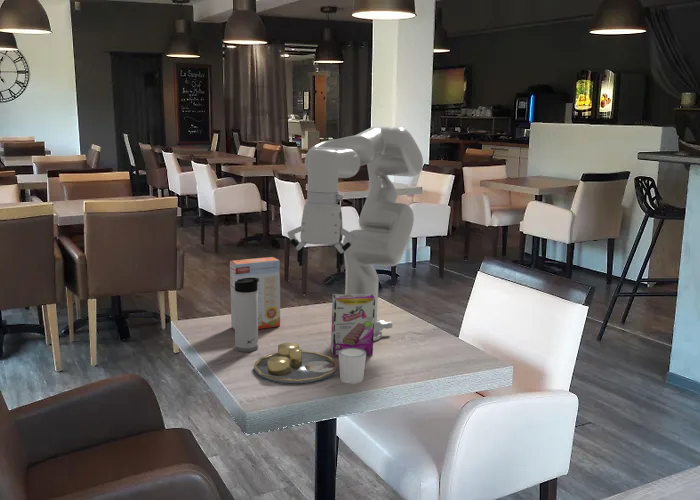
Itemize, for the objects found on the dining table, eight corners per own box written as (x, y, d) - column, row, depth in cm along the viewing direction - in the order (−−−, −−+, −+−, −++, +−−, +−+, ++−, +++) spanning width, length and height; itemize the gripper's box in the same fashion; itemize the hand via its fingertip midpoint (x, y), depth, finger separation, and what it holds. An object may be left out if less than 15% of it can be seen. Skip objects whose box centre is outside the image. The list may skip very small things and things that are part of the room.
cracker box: (273, 321, 217) (273, 256, 212) (280, 327, 211) (280, 259, 207) (230, 327, 210) (229, 259, 206) (236, 332, 205) (235, 263, 201)
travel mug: (254, 353, 188) (254, 281, 184) (231, 351, 189) (230, 279, 186) (262, 345, 194) (262, 276, 190) (239, 343, 195) (239, 274, 192)
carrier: (320, 351, 191) (320, 333, 190) (349, 378, 172) (349, 359, 171) (245, 359, 183) (245, 341, 182) (266, 389, 164) (266, 369, 163)
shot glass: (337, 374, 175) (337, 347, 173) (364, 373, 175) (364, 347, 174) (338, 384, 168) (339, 357, 167) (367, 384, 169) (367, 356, 167)
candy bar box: (333, 357, 186) (334, 298, 183) (330, 351, 191) (331, 293, 188) (373, 355, 188) (375, 297, 185) (370, 349, 193) (371, 292, 190)
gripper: (359, 199, 175) (356, 266, 178) (292, 196, 178) (291, 261, 181) (353, 202, 168) (351, 271, 170) (284, 198, 171) (283, 266, 174)
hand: (320, 266), depth 176 cm, fingers open, 9 cm apart
